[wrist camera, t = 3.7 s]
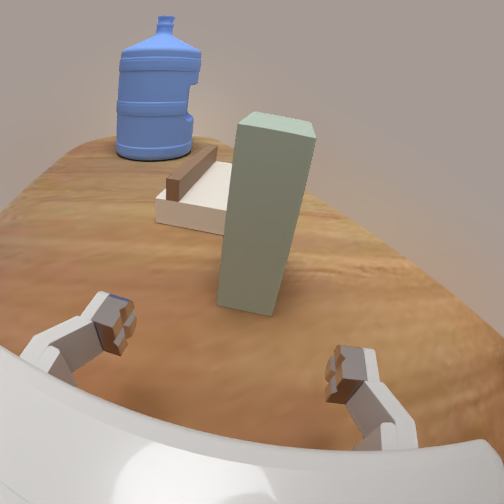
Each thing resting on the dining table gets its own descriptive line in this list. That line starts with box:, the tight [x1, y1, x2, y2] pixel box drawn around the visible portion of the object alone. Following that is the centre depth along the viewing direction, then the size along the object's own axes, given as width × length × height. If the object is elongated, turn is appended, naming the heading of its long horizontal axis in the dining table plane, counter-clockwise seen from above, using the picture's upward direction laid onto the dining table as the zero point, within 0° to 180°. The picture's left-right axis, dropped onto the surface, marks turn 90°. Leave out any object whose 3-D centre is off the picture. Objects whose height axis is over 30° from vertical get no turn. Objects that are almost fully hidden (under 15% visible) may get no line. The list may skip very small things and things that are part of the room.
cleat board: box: [155, 144, 232, 235], centre depth 38 cm, size 12×16×6 cm
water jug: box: [116, 16, 201, 161], centre depth 48 cm, size 16×16×28 cm
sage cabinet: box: [216, 112, 316, 317], centre depth 23 cm, size 4×8×14 cm, turn 172°
